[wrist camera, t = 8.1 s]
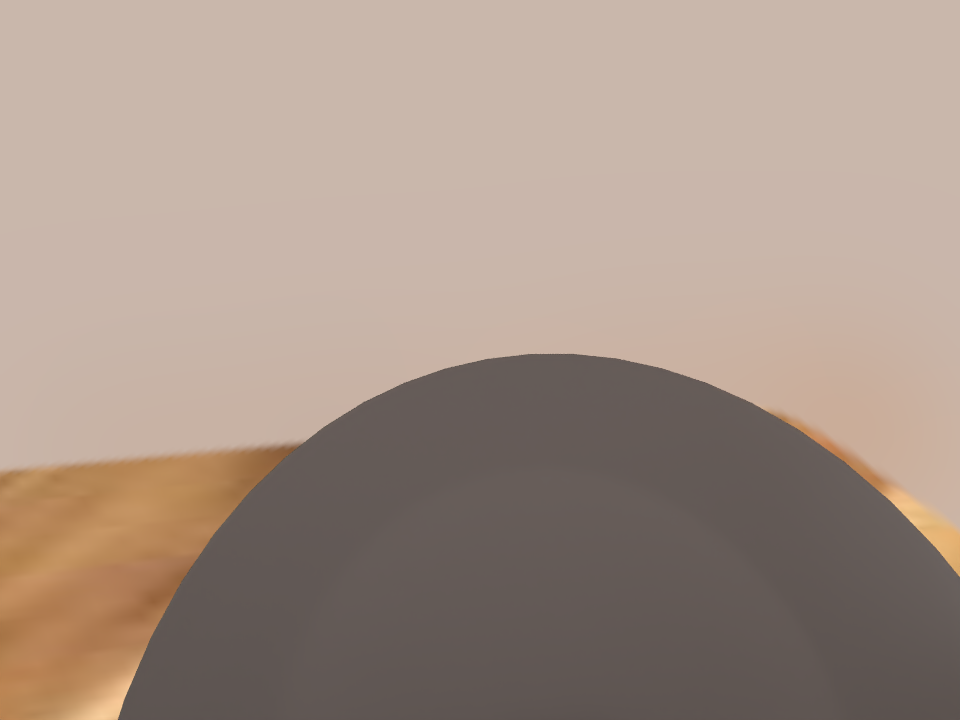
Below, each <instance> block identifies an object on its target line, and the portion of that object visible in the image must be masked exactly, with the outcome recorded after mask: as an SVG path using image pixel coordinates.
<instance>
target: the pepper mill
mask: <svg viewBox="0 0 960 720" xmlns="http://www.w3.org/2000/svg"><path fill="white" fill-rule="evenodd" d="M118 720H960V577H959V576H958V575H957V573H956V572H955V571H954V570H953V568H952V567H951V566H950V565H949V564H948V562H947V561H946V560H945V559H944V557H943V556H942V555H941V554H940V552H939V551H938V550H937V549H936V548H935V547H934V546H933V545H932V544H931V542H930V541H929V540H928V539H927V538H926V537H925V536H924V535H923V534H922V533H921V532H920V531H919V530H918V529H917V528H916V527H915V526H914V525H913V524H912V523H911V522H910V521H909V520H908V519H907V518H906V517H905V516H904V515H903V514H902V513H901V512H900V511H899V510H898V509H897V507H896V506H895V505H894V504H893V503H892V502H891V501H890V500H888V499H887V498H886V497H885V496H884V495H882V494H881V493H880V492H879V491H878V490H877V489H875V488H874V487H873V486H872V485H871V484H870V483H868V482H867V481H866V480H865V479H864V478H863V477H861V476H860V475H859V474H858V473H857V472H856V471H854V470H853V469H852V468H851V467H850V466H849V465H847V464H846V463H845V462H844V461H842V460H841V459H840V458H838V457H837V456H835V455H834V454H832V453H831V452H830V451H828V450H827V449H825V448H824V447H822V446H821V445H820V444H818V443H817V442H815V441H814V440H813V439H811V438H810V437H808V436H807V435H805V434H804V433H803V432H801V431H800V430H798V429H797V428H795V427H793V426H791V425H790V424H788V423H786V422H784V421H782V420H781V419H779V418H777V417H775V416H774V415H772V414H770V413H768V412H767V411H765V410H763V409H761V408H760V407H758V406H756V405H754V404H753V403H750V402H748V401H746V400H744V399H741V398H739V397H737V396H735V395H732V394H730V393H728V392H726V391H723V390H721V389H719V388H717V387H714V386H712V385H710V384H708V383H705V382H702V381H699V380H696V379H692V378H690V377H687V376H683V375H680V374H677V373H674V372H671V371H668V370H665V369H662V368H658V367H653V366H648V365H643V364H638V363H634V362H630V361H625V360H620V359H615V358H605V357H596V356H586V355H577V354H528V355H519V356H511V357H502V358H493V359H486V360H481V361H477V362H472V363H468V364H464V365H459V366H455V367H451V368H447V369H443V370H440V371H437V372H435V373H432V374H429V375H426V376H423V377H420V378H417V379H414V380H412V381H409V382H406V383H403V384H401V385H399V386H397V387H395V388H393V389H391V390H389V391H387V392H385V393H382V394H380V395H378V396H376V397H374V398H372V399H370V400H368V401H366V402H364V403H362V404H360V405H359V406H357V407H356V408H354V409H352V410H351V411H349V412H348V413H346V414H344V415H343V416H341V417H339V418H338V419H336V420H335V421H333V422H331V423H330V424H328V425H327V426H325V427H324V428H322V429H321V430H320V431H318V432H317V433H316V434H315V435H313V436H312V437H311V438H309V439H308V440H307V441H306V442H304V443H303V444H302V445H300V446H299V447H298V448H297V449H295V450H294V451H293V452H292V453H290V454H289V455H288V456H286V457H285V458H284V459H283V460H282V461H281V462H280V463H279V464H278V465H277V466H276V467H275V468H274V469H273V470H272V471H271V472H270V473H269V474H268V475H267V476H266V477H265V478H264V479H263V480H262V481H261V482H259V483H258V484H257V485H256V486H255V487H254V488H253V489H252V490H251V491H250V492H249V493H248V495H247V496H246V497H245V498H244V499H243V500H242V502H241V503H240V504H239V505H238V506H237V508H236V509H235V510H234V511H233V512H232V514H231V515H230V516H229V517H228V518H227V519H226V521H225V522H224V523H223V524H222V525H221V527H220V528H219V529H218V530H217V531H216V532H215V534H214V535H213V537H212V538H211V540H210V541H209V543H208V544H207V545H206V547H205V548H204V550H203V551H202V553H201V554H200V556H199V557H198V559H197V560H196V561H195V563H194V564H193V566H192V567H191V569H190V570H189V572H188V573H187V575H186V576H185V578H184V579H183V580H182V582H181V584H180V586H179V587H178V589H177V591H176V593H175V595H174V597H173V598H172V600H171V602H170V604H169V606H168V607H167V609H166V611H165V613H164V615H163V617H162V618H161V620H160V622H159V624H158V626H157V627H156V629H155V631H154V633H153V635H152V637H151V639H150V641H149V644H148V646H147V648H146V651H145V653H144V655H143V658H142V660H141V662H140V664H139V667H138V669H137V671H136V674H135V676H134V678H133V681H132V683H131V685H130V688H129V690H128V692H127V695H126V697H125V699H124V702H123V706H122V709H121V712H120V715H119V718H118Z"/></svg>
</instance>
